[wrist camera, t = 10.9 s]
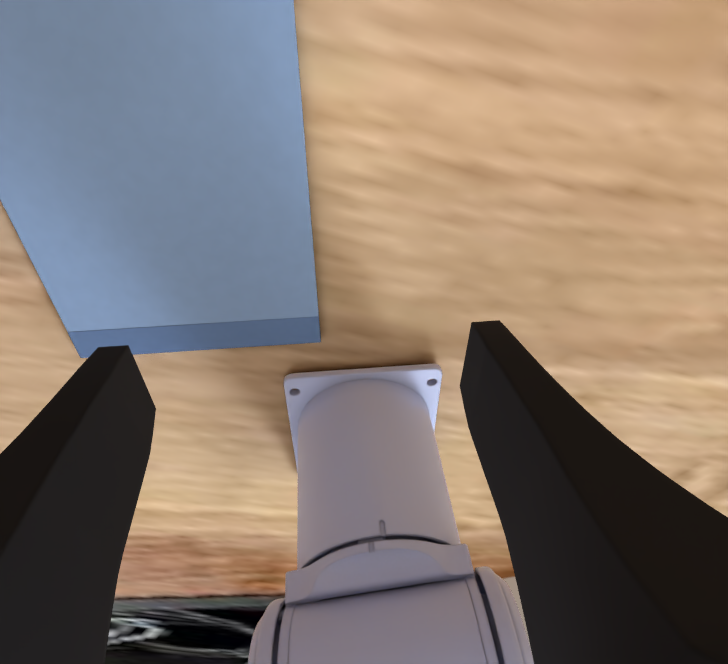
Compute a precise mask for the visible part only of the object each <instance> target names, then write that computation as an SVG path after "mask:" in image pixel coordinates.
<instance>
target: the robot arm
mask: <svg viewBox="0 0 728 664" xmlns="http://www.w3.org/2000/svg"><path fill="white" fill-rule="evenodd" d="M429 379H433V380H429ZM441 379H442V370H441V367H440V366H439V365H437V364H419V365H405V366H390V367H376V368H361V369H347V370H332V371H318V372H303V373H292V374H288V375H287V376H286V377H285V378H284V390H285V396H286V403H287V409H288V416H289V422H290V428H291V435H292V441H293V447H294V454H295V460H296V467H297V473H298V539H297V570H294V571H289V572H287V573H286V584H285V598H282V599H276V600H274V601H272V602H271V603H270V604H269V606H268V607H267V608H266V611H265V613H264V615H263V616H262V618H261V619H260V621H259V622H258V624H257V626H256V628H255V631H254V634H253V638H252V642H251V646H250V652H249V660H248V664H728V517H726V516H725V515H723V514H721V513H720V512H718V511H717V510H715V509H714V508H712V507H711V506H709V505H707V504H706V503H705V502H703V501H702V500H700V499H699V498H697V497H696V496H694V495H693V494H691V493H690V492H689V491H687V490H686V489H684V488H683V487H681V486H680V485H678V484H677V483H675V482H674V481H673V480H671V479H670V478H668V477H667V476H666V475H664V474H663V473H662V472H660V471H659V470H657V469H656V468H655V467H653V466H652V465H651V464H649V463H648V462H647V461H646V460H644V459H643V458H642V457H641V456H639V455H638V454H637V453H635V452H634V451H633V450H632V449H630V448H629V447H628V446H627V445H625V444H624V443H623V442H621V441H620V440H619V439H618V438H617V437H616V436H614V435H613V434H612V433H611V432H610V431H609V430H607V429H606V428H605V427H604V426H603V425H602V424H601V423H600V422H598V421H597V420H596V419H595V418H594V417H593V416H592V415H591V414H590V413H588V412H587V411H586V410H585V409H584V408H583V407H582V406H581V405H580V404H579V403H578V402H577V401H576V400H575V399H574V398H573V397H572V396H571V395H570V394H569V393H568V392H567V391H566V390H565V389H564V388H563V387H562V386H561V385H560V384H559V383H558V382H557V381H556V380H555V379H554V378H553V377H552V376H551V375H550V374H549V373H548V372H547V371H546V370H545V369H544V368H543V367H542V366H541V365H540V364H539V363H538V362H537V361H536V359H535V358H534V357H533V356H532V355H531V354H530V353H529V352H528V351H527V350H526V349H525V348H524V347H523V345H522V344H521V343H520V342H519V341H518V340H517V339H516V338H515V337H514V336H513V334H512V333H511V332H510V331H509V330H508V329H507V328H506V327H505V326H504V325H503V324H502V323H501V322H500V321H484V322H472V323H471V328H470V334H469V339H468V345H467V350H466V355H465V361H464V366H463V372H462V377H461V382H460V389H461V394H462V399H463V404H464V409H465V413H466V418H467V422H468V427H469V430H470V433H471V436H472V439H473V442H474V445H475V448H476V451H477V453H478V456H479V459H480V462H481V465H482V468H483V471H484V474H485V477H486V479H487V482H488V485H489V488H490V491H491V494H492V497H493V499H494V502H495V505H496V508H497V511H498V514H499V517H500V520H501V523H502V526H503V530H504V533H505V536H506V540H507V544H508V548H509V552H510V557H511V561H512V565H513V569H514V573H515V577H516V581H517V585H518V590H519V595H520V599H521V604H522V608H523V612H524V617H525V621H526V626H527V631H528V636H529V641H530V645H529V642H528V638H527V635H526V631H525V628H524V624H523V621H522V618H521V616H520V612H519V609H518V607H517V604H516V601H515V599H514V596H513V594H512V592H511V590H510V588H509V586H508V584H507V583H506V581H504V580H503V579H502V578H501V577H499V576H498V575H497V574H495V573H494V572H493V570H492V569H491V568H489V567H487V566H484V567H478V568H475V571H474V570H473V566H472V562H471V558H470V554H469V550H468V546H467V545H466V544H461V543H460V539H459V534H458V530H457V526H456V522H455V518H454V514H453V509H452V505H451V501H450V497H449V493H448V489H447V484H446V480H445V476H444V472H443V468H442V464H441V459H440V455H439V451H438V447H437V443H436V439H435V434H434V430H435V423H436V416H437V408H438V401H439V394H440V386H441ZM294 388H295V389H296V390H293V389H294ZM155 411H156V408H155V405H154V403H153V401H152V399H151V396H150V394H149V392H148V389H147V387H146V385H145V382H144V380H143V378H142V375H141V373H140V371H139V368H138V366H137V364H136V362H135V359H134V357H133V355H132V352H131V350H130V348H129V345H123V346H107V347H98V348H97V349H96V350H95V351H94V352H93V353H92V354H91V355H90V357H89V358H88V359H87V360H86V361H85V362H84V363H83V364H82V366H81V367H80V368H79V369H78V370H77V371H76V372H75V373H74V375H73V376H72V377H71V378H70V379H69V380H68V381H67V383H66V384H65V385H64V386H63V387H62V388H61V389H60V391H59V392H58V393H57V394H56V395H55V396H54V397H53V398H52V400H51V401H50V402H49V403H48V404H47V405H46V406H45V407H44V408H43V410H42V411H41V412H40V413H39V414H38V415H37V416H36V417H35V418H34V419H33V420H32V422H31V423H30V424H29V425H28V426H27V427H26V428H25V429H24V430H23V431H22V432H21V434H20V435H19V436H18V437H17V438H16V439H15V440H14V441H13V442H12V443H11V444H10V445H9V446H8V447H7V448H6V449H5V450H4V451H3V452H2V453H1V454H0V664H104V663H105V656H106V649H107V642H108V635H109V628H110V621H111V615H112V609H113V603H114V597H115V590H116V584H117V578H118V573H119V569H120V564H121V560H122V556H123V552H124V548H125V544H126V541H127V537H128V533H129V530H130V526H131V522H132V519H133V515H134V511H135V508H136V504H137V500H138V497H139V493H140V489H141V486H142V482H143V478H144V474H145V471H146V467H147V463H148V459H149V455H150V450H151V443H152V436H153V428H154V420H155ZM530 646H531V649H530ZM531 651H532V652H531Z"/></svg>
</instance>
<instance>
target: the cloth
mask: <svg viewBox="0 0 728 664" xmlns="http://www.w3.org/2000/svg"><path fill="white" fill-rule="evenodd" d="M0 200H1V202H2V204H3V206H4V208H5V210H6V212H7V214H8V216H9V218H10V220H11V222H12V224H13V226H14V228H15V230H16V232H17V234H18V236H19V238H20V239H21V241H22V243H23V245H24V247H25V249H26V251H27V253H28V255H29V257H30V259H31V261H32V263H33V265H34V267H35V269H36V271H37V273H38V275H39V277H40V279H41V281H42V283H43V285H44V287H45V289H46V291H47V292H48V294H49V296H50V298H51V300H52V302H53V304H54V306H55V308H56V310H57V312H58V314H59V316H60V318H61V320H62V322H63V324H64V326H65V328H66V330H67V332H68V334H69V336H70V338H71V340H72V342H73V344H74V346H75V348H76V350H77V352H78V354H79V356H80V358H87V357H90V355H91V354H92V353H93V352H94V351H95V350H96V349H97V348H98V347H107V346H123V345H129V348H130V350H131V352H132V354H148V353H163V352H178V351H194V350H209V349H224V348H239V347H255V346H270V345H285V344H301V343H316V342H321V336H320V324H319V311H318V299H317V287H316V274H315V262H314V249H313V237H312V224H311V212H310V200H309V187H308V175H307V162H306V150H305V138H304V125H303V113H302V100H301V88H300V75H299V63H298V51H297V38H296V26H295V13H294V1H293V0H0Z"/></svg>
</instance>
